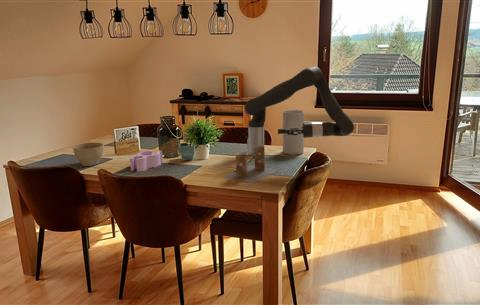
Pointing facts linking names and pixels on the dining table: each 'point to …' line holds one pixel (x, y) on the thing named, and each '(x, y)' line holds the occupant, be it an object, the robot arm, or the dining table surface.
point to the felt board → (252, 174)
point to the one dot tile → (241, 165)
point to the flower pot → (186, 151)
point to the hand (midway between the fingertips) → (277, 131)
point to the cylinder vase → (293, 142)
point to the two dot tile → (259, 158)
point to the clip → (145, 160)
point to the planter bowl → (88, 153)
